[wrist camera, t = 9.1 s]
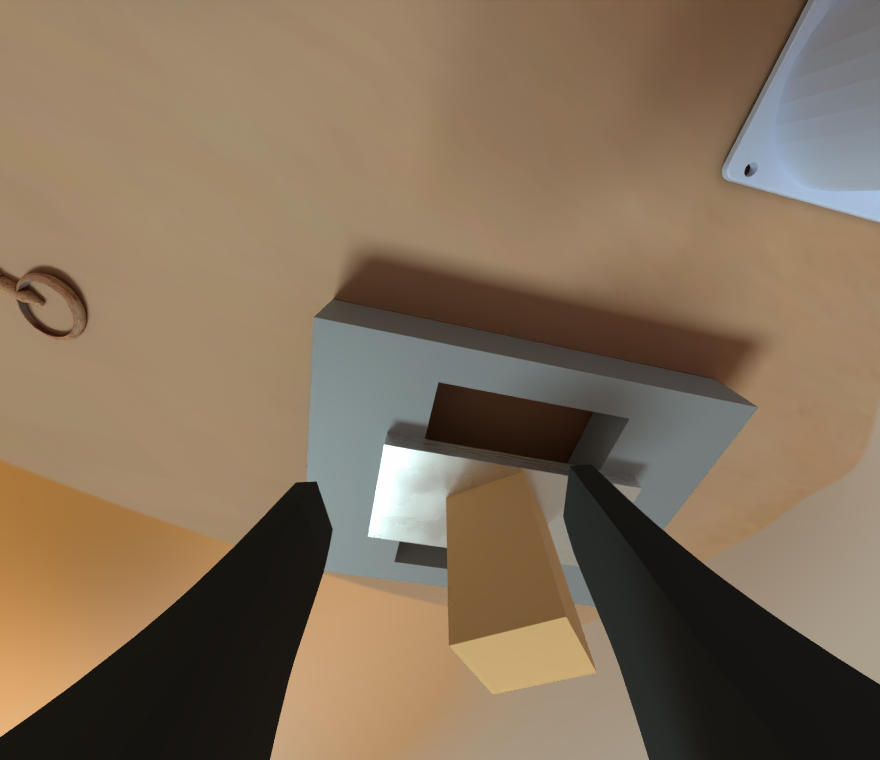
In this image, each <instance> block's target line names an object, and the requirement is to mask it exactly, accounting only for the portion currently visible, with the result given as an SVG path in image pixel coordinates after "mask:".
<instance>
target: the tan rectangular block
mask: <svg viewBox="0 0 880 760" xmlns="http://www.w3.org/2000/svg"><path fill="white" fill-rule="evenodd" d="M446 528H447V575H448V617H449V618H448V619H449V620H448V621H449V646H450V647H451V648H452V650H453V651H454V652H455V653H456V654H457V655H458V656H459V657H460V658H461V660H462V661H463V662H464V663H465V664H466V665H467V666H468V667H469V669H470V670H471V671H472V672H473V673H474V674H475V675H476V676H477V677H478V679H479V680H480V681H481V682H482V683H483V684H484V685H485V686H486V687H487V688H488V689H489V691H490V692H491V693H492V694H497V693H502V692H507V691H512V690H516V689H521V688H526V687H531V686H536V685H540V684H545V683H549V682H554V681H559V680H564V679H569V678H574V677H578V676H583V675H587V674H593V673H596V669H595V666H594V663H593V660H592V657H591V654H590V651H589V648H588V645H587V642H586V639H585V636H584V633H583V630H582V627H581V624H580V621H579V618H578V615H577V612H576V609H575V606H574V603H573V600H572V597H571V594H570V591H569V588H568V585H567V582H566V579H565V576H564V573H563V570H562V566H561V563H560V560H559V557H558V554H557V551H556V548H555V545H554V542H553V539H552V536H551V533H550V530H549V527H548V524H547V522H546V520H545V518H544V516H543V514H542V512H541V510H540V507H539V505H538V503H537V501H536V499H535V497H534V495H533V493H532V491H531V489H530V487H529V485H528V483H527V480H526V478H525V476H524V474H523V472H520V473H517V474H514V475H511V476H508V477H505V478H503V479H500V480H497V481H494V482H491V483H488V484H485V485H482V486H479V487H476V488H473V489H470V490H468V491H465V492H462V493H459V494H456V495H453V496H450V497H447V498H446Z"/></svg>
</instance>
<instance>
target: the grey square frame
mask: <svg viewBox="0 0 880 760" xmlns="http://www.w3.org/2000/svg"><path fill="white" fill-rule="evenodd" d="M438 382H440V383H446V384H451V385H456V386H461V387H466V388H472V389H477V390H482V391H487V392H493V393H498V394H503V395H508V396H514V397H519V398H524V399H529V400H534V401H540V402H545V403H550V404H555V405H561V406H566V407H571V408H576V409H581V410H587V411H592V412H593V414H592V415H591V417H590V419H589V421H588V423H587V425H586V427H585V429H584V431H583V433H582V435H581V437H580V439H579V441H578V443H577V445H576V447H575V449H574V451H573V453H572V455H571V457H570V459H569V460H568V462H567V464H571V465H593V466H594V467H595V468H596V469H600V470H606V471H612V472H617V473H623V474H629V475H633V476H634V477H635V478H636V480H637V481H638V483H639V484H640V486H641V487H642V488H643V489H642V490H641V492H640V493H639V495H638V496H637V498H636V499H635V501H634V502H633V504H634V505H635V506H636V507H638V508H639V509H640V510H641V511H642V512H643V513H644V514H645V515H646V516H648V517H649V518H650V519H651V520H652V521H653V522H654V523H656V524H657V525H658V526H659V527H660V528H661V529H662V530H664V528H665V527H666V526H667V525H668V523H669V522H670V521H671V519H672V518H673V517H674V516H675V514H676V513H677V512H678V510H679V509H680V508H681V507H682V505H683V504H684V503H685V501H686V500H687V499H688V498H689V496H690V495H691V494H692V492H693V491H694V490H695V488H696V487H697V486H698V485H699V483H700V482H701V481H702V479H703V478H704V477H705V476H706V474H707V473H708V472H709V470H710V469H711V468H712V467H713V465H714V464H715V463H716V461H717V460H718V459H719V458H720V456H721V455H722V454H723V452H724V451H725V450H726V449H727V447H728V446H729V445H730V443H731V442H732V441H733V439H734V438H735V437H736V436H737V434H738V433H739V432H740V430H741V429H742V428H743V427H744V425H745V424H746V423H747V421H748V420H749V419H750V418H751V416H752V415H753V414H754V412H755V411H756V410H757V409H758V407H757V406H755V405H754V404H752V403H751V402H749V401H748V400H746V399H745V398H743V397H742V396H740V395H738V394H737V393H735V392H734V391H732V390H731V389H729V388H728V387H726V386H725V385H723V384H722V383H720V382H719V381H717V380H716V379H711V378H706V377H701V376H696V375H692V374H687V373H682V372H677V371H673V370H668V369H663V368H658V367H654V366H649V365H644V364H639V363H635V362H630V361H625V360H620V359H615V358H611V357H606V356H601V355H596V354H592V353H587V352H582V351H577V350H573V349H568V348H563V347H558V346H554V345H549V344H544V343H539V342H534V341H530V340H525V339H520V338H515V337H511V336H506V335H501V334H496V333H492V332H487V331H482V330H477V329H473V328H468V327H463V326H458V325H453V324H449V323H444V322H439V321H434V320H430V319H425V318H420V317H415V316H411V315H406V314H401V313H396V312H391V311H387V310H382V309H377V308H372V307H368V306H363V305H358V304H353V303H349V302H344V301H339V300H334V299H333V300H332V301H331V302H329V303H328V304H327V305H326V306H325V307H324V308H323V309H322V310H321V311H320V312H319V313H318V314H317V315H316V316H315V317H314V329H313V350H312V371H311V393H310V414H309V435H308V457H307V478H306V482H315V481H317V484H318V487H319V490H320V493H321V496H322V499H323V502H324V505H325V507H326V510H327V513H328V516H329V519H330V522H331V525H332V528H333V532H332V537H331V542H330V547H329V552H328V557H327V561H326V566H325V569H324V571H327V572H334V573H342V574H350V575H357V576H365V577H373V578H381V579H388V580H396V581H404V582H411V583H419V584H427V585H435V586H442V587H448V575H447V548H444V547H437V546H430V545H423V544H416V543H409V542H402V541H395V540H388V539H381V538H374V537H368V533H369V527H370V522H371V516H372V511H373V505H374V499H375V494H376V488H377V483H378V477H379V471H380V466H381V460H382V455H383V449H384V444H385V439H386V435H387V433H392V434H398V435H404V436H410V437H415V438H421V439H425V435H426V431H427V427H428V423H429V419H430V415H431V411H432V407H433V403H434V399H435V395H436V390H437V386H438ZM561 566H562V570H563V573H564V576H565V579H566V582H567V585H568V588H569V591H570V594H571V597H572V600H573V603H574V604H581V605H589V606H595V604H594V602H593V599H592V597H591V594H590V592H589V590H588V587H587V585H586V582H585V580H584V578H583V575H582V573H581V570H580V568H579V566H572V565H565V564H561Z"/></svg>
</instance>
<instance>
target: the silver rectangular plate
mask: <svg viewBox="0 0 880 760" xmlns="http://www.w3.org/2000/svg"><path fill="white" fill-rule="evenodd" d="M569 466H576V465H571V464H565V463H560V462H554V461H548V460H542V459H537V458H531V457H525V456H519V455H514V454H508V453H502V452H496V451H490V450H485V449H479V448H473V447H467V446H462V445H456V444H450V443H444V442H439V441H433V440H427V439H421V438H415V437H410V436H404V435H398V434H392V433H387V435H386V439H385V444H384V449H383V455H382V460H381V466H380V471H379V477H378V483H377V488H376V494H375V499H374V505H373V511H372V516H371V522H370V527H369V533H368V537H374V538H381V539H388V540H395V541H402V542H409V543H416V544H423V545H430V546H437V547H444V548H447V528H446V498H447V497H450V496H453V495H456V494H459V493H462V492H465V491H468V490H470V489H473V488H476V487H479V486H482V485H485V484H488V483H491V482H494V481H497V480H500V479H503V478H505V477H508V476H511V475H514V474H517V473H520V472H523V474H524V476H525V478H526V480H527V483H528V485H529V487H530V489H531V491H532V493H533V495H534V497H535V499H536V501H537V503H538V505H539V507H540V510H541V512H542V514H543V516H544V518H545V520H546V522H547V524H548V527H549V530H550V533H551V536H552V539H553V542H554V545H555V548H556V551H557V554H558V557H559V560H560V563H561V564H565V565H572V566H579V565H578V563H577V560H576V558H575V555H574V553H573V549H572V546H571V543H570V540H569V536H568V533H567V529H566V526H565V522H564V518H563V513H564V505H565V497H566V489H567V481H568V473H569ZM597 470H598V471H599V472H600V473H601V474H602V475H603V476H604V477H606V478H607V479H608V480H609V481H610V482H611V483H612V484H613V485H614V486H615V487H616V488H617V489H618V490H619V491H620V492H621V493H622V494H624V495H625V496H626V497H627V498H628V499H629V500H630V501H631V502H632V503H633V502H634V501H635V499H636V498H637V496H638V495H639V493H640V492H641V490H642V489H643V488H642V487H641V486H640V484H639V483H638V481H637V480H636V478H635V477H634V476H633V475H629V474H623V473H617V472H612V471H606V470H600V469H597Z"/></svg>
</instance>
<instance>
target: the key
mask: <svg viewBox="0 0 880 760" xmlns="http://www.w3.org/2000/svg"><path fill="white" fill-rule="evenodd" d="M31 281H38V282H41V283H44V284H46V285H48V286H49V287H51V288H53V289H54V290H55V291H57V292H58V293H59V294H60V295H61V296H62V297H63V298H64V299H65V300H66V302H67V304H68V305H69V307H70V309H71V312H72V314H73V319H74V325H73V329H72V331H71V332H70V333H69V334H68V335H66V336H62V335H56V334H53V333H51V332H49V331H47V330H45V329H44V328H42V327H41V326H40V325H39V324H38V323H37V322H36V321H35V320H34V319H33V317H32V316H31V314H30V313H29V311H28V308H27V306H26V303H30V304H36V305H40V306H43V305H44V302H43V301H42V300H41V299H40V298H39V297H38V296H37V295H36V294H35V293H33V292H32V291H31V290H29V289H27V286H28V285H29V283H30V282H31ZM0 291H1V292H3V293H5V294H7V295H9V296H11V297H13V298H15V299H16V300H17V304H18V306H19V308H20V310H21V312H22V314H23V315H24V317H25V318H26V319H27V321H28V322H29V323H30V324H31V325H33V326H34V327H35V328H36V329H37V330H39V331H40V332H41V333H43V334H45V335H47V336H49V337H51V338H54V339H59V340H71V339H75V338H77V337H78V336H80V335H81V334H82V333H83V331H84V329H85V327H86V320H87V319H86V312H85V309H84V306H83V304H82V302H81V300H80V299H79V297H78V296H77V295H76V293H75V292H74V291H73V290H72V289H71V288H70V287H69V286H68V285H67V284H66V283H64V282H63V281H61V280H60V279H58V278H56V277H54V276H52V275H48V274H44V273H29V274H27V275H25V276H23V277H22V278H21V279H20V280H19V282H18V283H16V282H14V281H12V280H10V279H8V278H6V277H4V276H3V274H1V273H0Z"/></svg>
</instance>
